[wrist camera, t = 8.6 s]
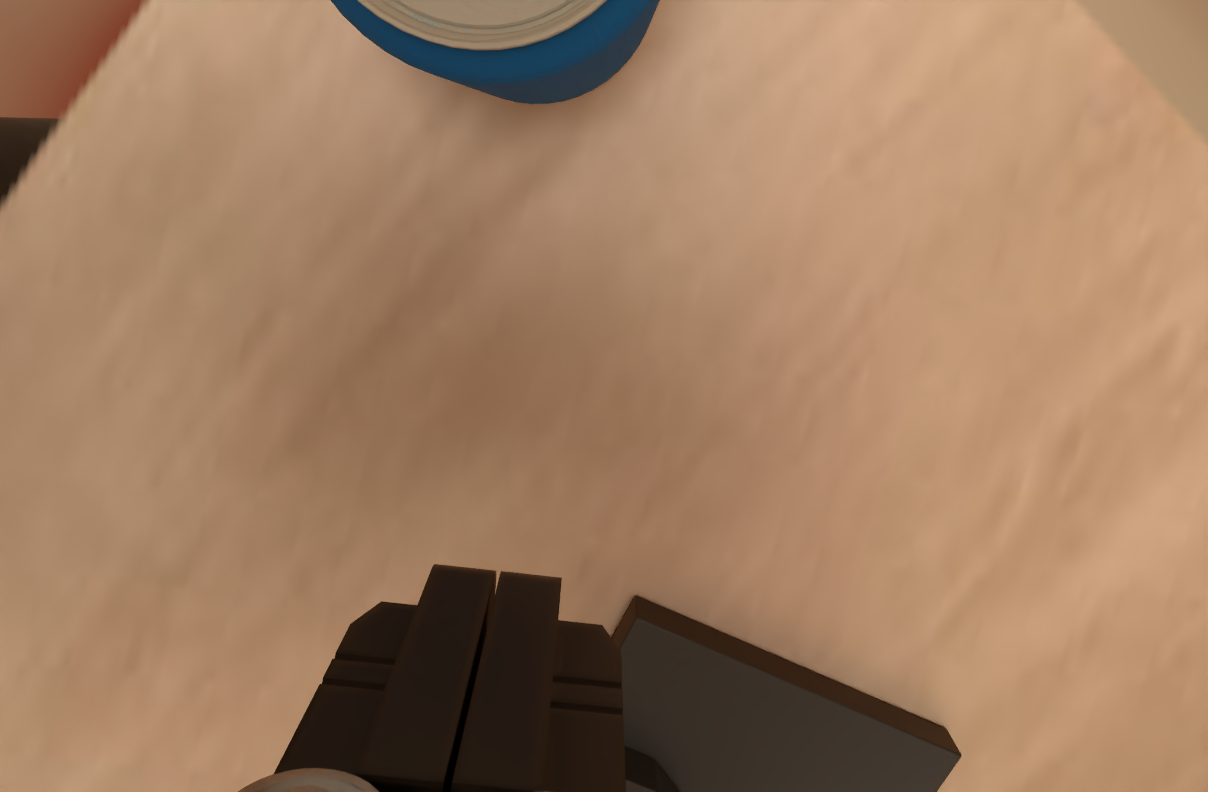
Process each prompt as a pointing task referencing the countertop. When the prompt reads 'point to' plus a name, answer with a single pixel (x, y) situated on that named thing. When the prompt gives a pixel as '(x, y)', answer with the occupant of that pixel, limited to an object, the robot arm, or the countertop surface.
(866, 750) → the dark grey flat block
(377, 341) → the countertop surface
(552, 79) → the beverage can
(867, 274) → the countertop surface
